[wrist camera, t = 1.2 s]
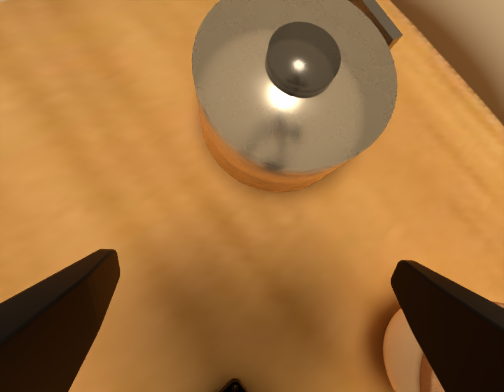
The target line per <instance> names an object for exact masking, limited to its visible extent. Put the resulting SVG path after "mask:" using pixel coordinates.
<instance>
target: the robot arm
mask: <svg viewBox="0 0 504 392" xmlns="http://www.w3.org/2000/svg"><path fill="white" fill-rule="evenodd" d="M119 277H120V267H119V261H118V256H117V252H116V251H115V250H113V249H100V250H97V251H96V252H94V253H92V254H90V255H88V256H86V257H85V258H83V259H81V260H79V261H77V262H75V263H74V264H72V265H70V266H68V267H66V268H64V269H63V270H61V271H59V272H57V273H55V274H53V275H52V276H50V277H48V278H46V279H44V280H42V281H41V282H39V283H37V284H35V285H33V286H31V287H30V288H28V289H26V290H24V291H22V292H20V293H18V294H17V295H15V296H13V297H11V298H9V299H7V300H6V301H4V302H2V303H0V392H68V391H69V389H70V387H71V385H72V383H73V381H74V379H75V377H76V375H77V373H78V371H79V369H80V367H81V365H82V363H83V361H84V359H85V357H86V355H87V354H88V352H89V350H90V348H91V346H92V344H93V342H94V340H95V338H96V336H97V333H98V331H99V329H100V327H101V325H102V322H103V320H104V317H105V314H106V312H107V309H108V307H109V304H110V301H111V299H112V296H113V293H114V291H115V288H116V286H117V283H118V280H119ZM391 286H392V288H393V291H394V293H395V295H396V297H397V300H398V302H399V304H400V306H401V309H402V311H403V313H404V315H405V318H406V320H407V322H408V324H409V327H410V329H411V331H412V333H413V335H414V337H415V339H416V340H417V342H418V344H419V346H420V348H421V350H422V351H423V353H424V355H425V357H426V359H427V360H428V362H429V364H430V366H431V368H432V369H433V371H434V373H435V375H436V377H437V379H438V380H439V382H440V384H441V386H442V388H443V389H444V391H445V392H504V308H503V307H501V306H499V305H497V304H495V303H493V302H491V301H489V300H487V299H486V298H484V297H482V296H480V295H478V294H476V293H474V292H472V291H470V290H469V289H467V288H465V287H463V286H461V285H459V284H457V283H455V282H453V281H451V280H450V279H448V278H446V277H444V276H442V275H440V274H438V273H436V272H434V271H433V270H431V269H429V268H427V267H425V266H423V265H421V264H419V263H417V262H415V261H412V260H401V261H399V262H398V264H397V266H396V268H395V271H394V273H393V275H392V277H391ZM234 385H237V386H238V387H237V388H236V389H233V388H232V387H233V386H234ZM220 392H247V390H246V389H245V388H244V386H243V385H242V384H241V382H240V381H239V380H238V379H233V380H231V381H230V382H229V383H228V384H227V385H226V386H225V387H224V388H223V389H222V390H221V391H220Z"/></svg>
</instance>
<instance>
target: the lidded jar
mask: <svg viewBox="0 0 504 392" xmlns="http://www.w3.org/2000/svg"><path fill="white" fill-rule="evenodd" d="M493 303H495V304H497V305H499V306H501V307H503V308H504V304H503V303H497V302H493ZM383 357H384V363H385V368H386V372H387V375H388V378H389V381H390V383H391V385H392V388H393V390H394V392H445V391H444V389H443V388H442V386H441V384H440V382H439V380H438V379H437V377H436V375H435V373H434V371H433V369H432V368H431V366H430V364H429V362H428V360H427V359H426V357H425V355H424V353H423V351H422V350H421V348H420V346H419V344H418V342H417V340H416V339H415V337H414V335H413V333H412V331H411V329H410V327H409V324H408V322H407V320H406V318H405V315H404V313H403V311H402V309H401V308H400V309H399V310H398V311H397V312H396V313H395V315H394V316H393V317H392V319H391V320H390V322H389V324H388V326H387V328H386V331H385V335H384V341H383Z"/></svg>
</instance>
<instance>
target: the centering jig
mask: <svg viewBox="0 0 504 392" xmlns="http://www.w3.org/2000/svg"><path fill="white" fill-rule="evenodd" d="M348 1H350V2H351V3H352V4H354V5H355V6H356V7H357V8H359V9H360V10H361V11H362V12H363V13H364V14H365V15H366V16H367V17H368V18H369V19H370V20H371V21H372V22H373V24H374V25H375V26H376V27H377V29H378V30H379V32H380V33H381V35H382V36H383V38H384V39H385V41H386V43H387V45H388V47H389V49H391V48H392V47H393V46H394V44H395V43H396V42H397V41H398V40H399V39H400V38H401V36H402V33H401V32H400V31H399V30H398V28H397V27H396V26H395V25H394V23H393V22H392V21H391V20H390V18H389V17H388V16H387V15H386V13H385V12H384V11H383V10H382V8H381V7H380V6H379V4H378V3H377V2H376V1H375V0H348Z"/></svg>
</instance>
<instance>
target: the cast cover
mask: <svg viewBox="0 0 504 392" xmlns="http://www.w3.org/2000/svg"><path fill="white" fill-rule="evenodd" d="M192 70H193V77H194V83H195V89H196V95H197V101H198V106H199V112H200V118H201V124H202V129H203V134H204V138H205V141H206V143H207V146H208V148H209V150H210V152H211V154H212V155H213V157H214V158H215V160H216V161H217V162H218V163H219V165H220V166H221V167H222V168H223V169H224V170H225V171H226V172H228V173H229V174H230V175H231V176H232V177H234V178H235V179H237V180H239V181H240V182H242V183H244V184H246V185H248V186H251V187H254V188H257V189H260V190H265V191H273V192H285V191H293V190H297V189H301V188H304V187H306V186H309V185H311V184H312V183H314V182H316V181H318V180H319V179H321V178H322V177H324V176H325V175H327V174H329V173H330V172H332V171H333V170H335V169H336V168H338V167H339V166H341V165H342V164H344V163H346V162H347V161H349V160H350V159H352V158H353V157H355V156H356V155H358V154H359V153H361V152H362V151H364V150H365V149H366V148H368V147H369V146H370V145H371V144H372V143H373V142H374V141H375V140H376V139H377V138H378V137H379V136H380V135H381V133H382V132H383V131H384V129H385V128H386V126H387V124H388V122H389V120H390V118H391V116H392V113H393V110H394V107H395V102H396V97H397V75H396V69H395V65H394V60H393V58H392V55H391V52H390V49H389V47H388V45H387V43H386V41H385V39H384V38H383V36H382V35H381V33H380V32H379V30H378V29H377V27H376V26H375V25H374V24H373V22H372V21H371V20H370V19H369V18H368V17H367V16H366V15H365V14H364V13H363V12H362V11H361V10H360V9H359V8H357V7H356V6H355V5H354V4H352V3H351V2H350V1H348V0H221V1H219V2H218V3H217V4H216V5H215V6H214V7H213V8H212V9H211V10H210V12H209V13H208V14H207V15H206V17H205V19H204V20H203V22H202V23H201V25H200V28H199V30H198V32H197V35H196V38H195V42H194V46H193V54H192Z"/></svg>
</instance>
